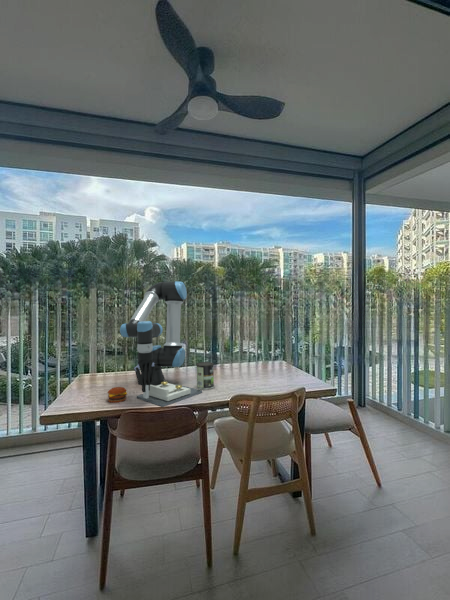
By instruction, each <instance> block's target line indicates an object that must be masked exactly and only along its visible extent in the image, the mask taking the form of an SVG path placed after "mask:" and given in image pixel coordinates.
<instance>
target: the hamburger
mask: <svg viewBox="0 0 450 600" xmlns="http://www.w3.org/2000/svg"><path fill="white" fill-rule="evenodd" d="M106 393H107V394H108V395H107V397H108V403H113V404H114V403H115V404H117V403H121V402H125V401H126V400H127V395H128V392H127V389H126V388H124V387H122V386H115V387H112V388H110V389H108V391H107V392H106Z"/></svg>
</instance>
